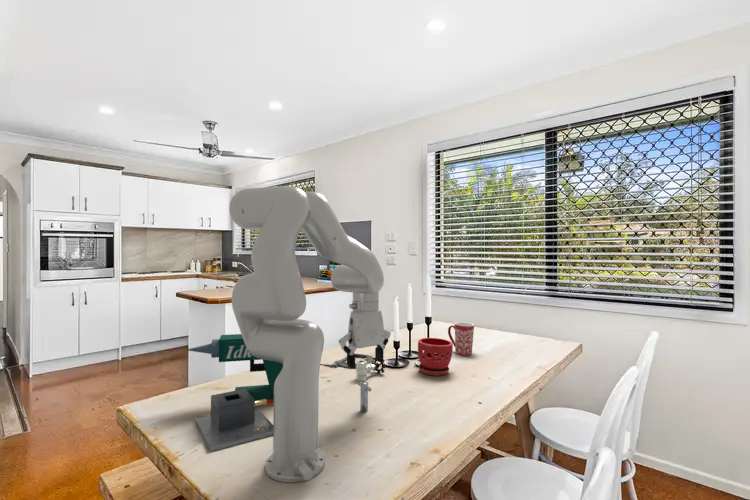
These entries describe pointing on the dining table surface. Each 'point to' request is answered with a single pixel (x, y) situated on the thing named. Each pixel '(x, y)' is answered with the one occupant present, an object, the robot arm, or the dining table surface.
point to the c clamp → (342, 361)
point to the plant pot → (434, 355)
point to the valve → (367, 369)
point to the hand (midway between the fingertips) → (365, 364)
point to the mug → (462, 337)
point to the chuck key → (364, 396)
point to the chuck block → (233, 420)
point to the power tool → (237, 351)
